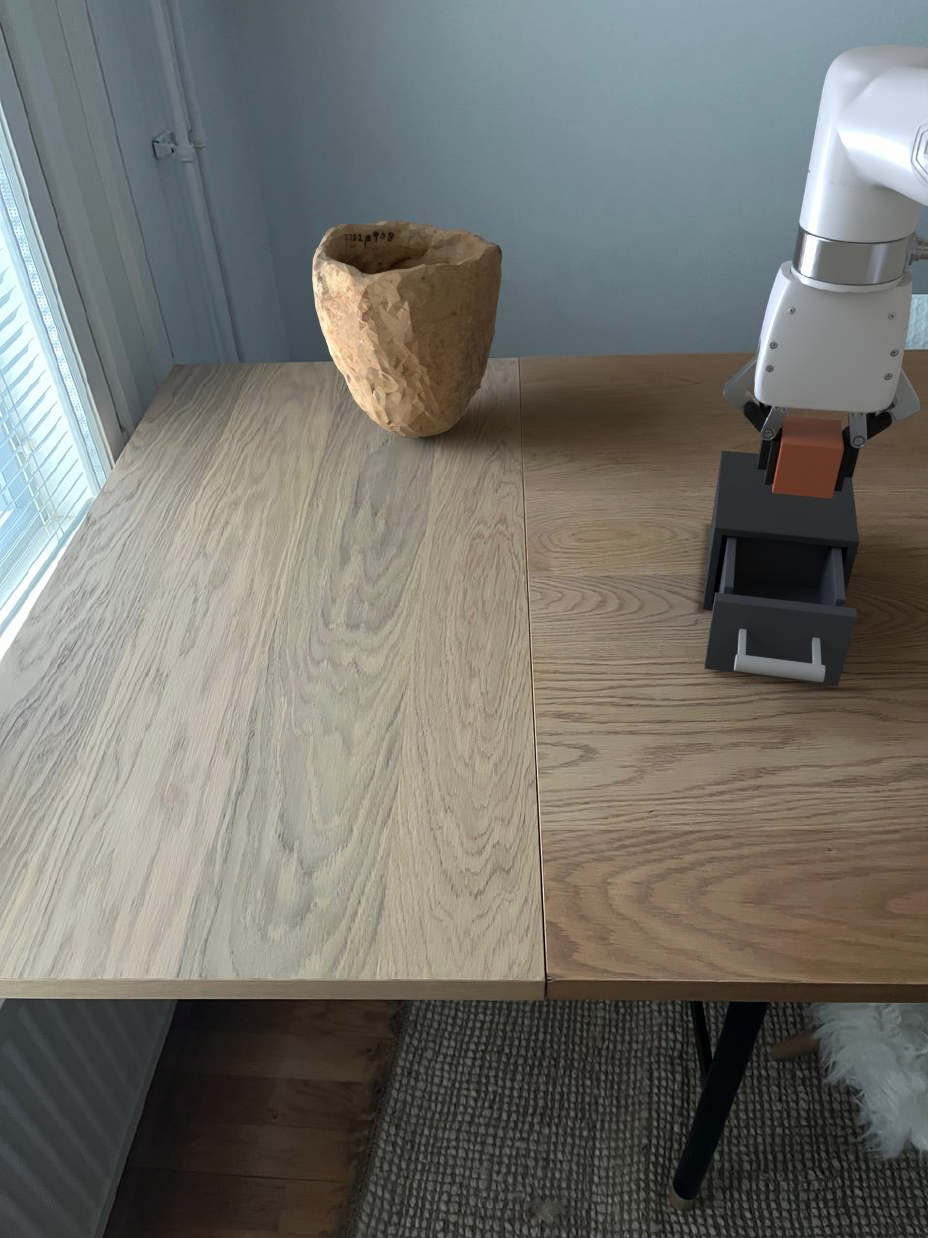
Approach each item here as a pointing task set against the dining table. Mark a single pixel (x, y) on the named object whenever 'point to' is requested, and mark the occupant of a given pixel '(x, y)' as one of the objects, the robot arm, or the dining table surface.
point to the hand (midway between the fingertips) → (802, 477)
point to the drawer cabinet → (775, 516)
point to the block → (808, 457)
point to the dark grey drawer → (780, 611)
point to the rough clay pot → (408, 318)
